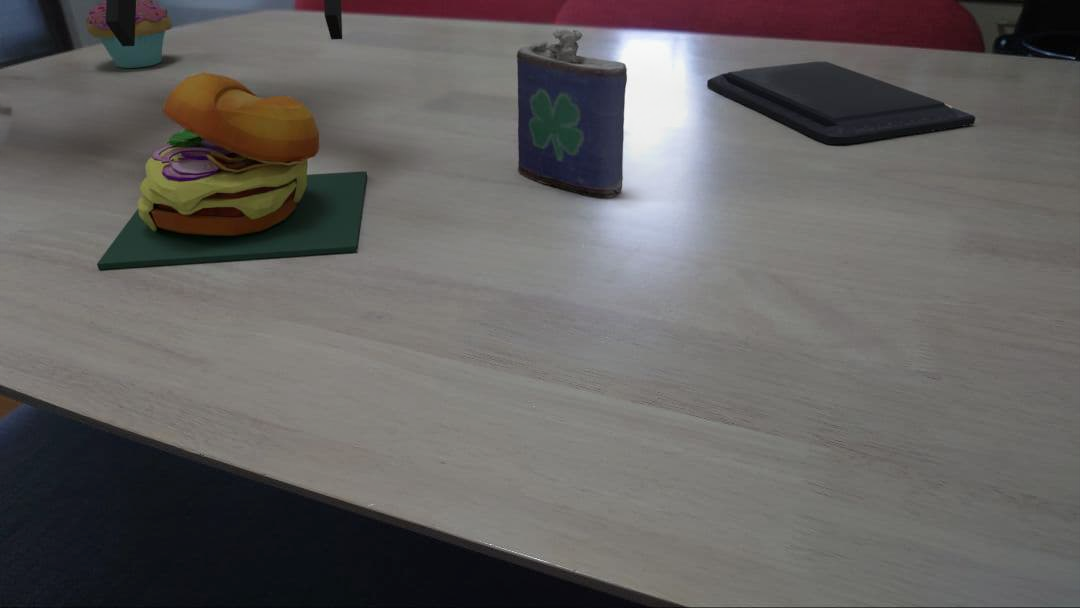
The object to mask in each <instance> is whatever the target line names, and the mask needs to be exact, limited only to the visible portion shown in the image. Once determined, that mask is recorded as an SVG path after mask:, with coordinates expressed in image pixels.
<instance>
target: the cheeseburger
mask: <svg viewBox="0 0 1080 608" xmlns="http://www.w3.org/2000/svg"><path fill="white" fill-rule="evenodd" d="M162 113H163V114H164V115H165V116H166V117H167V118H168V119H169V120H170V121H172V122H174V123H175V124H177V125H179V126H180V127H182V128H183V130H182V131H178V132H177V133H174V134H172V135H171V136H169V137H168V139H169V140H168V141H167V142H166V145H165V146H164V145H163V146H162V147H159V148H158V149H156V150H154V151H153V152H152V154H151V155H150V157H149V159H147V162H146V163H145V166H144V169H145V174H146V177H145V178H143V180H142V181H141V183H140V186H139V191H140V194H141V197H140V198H139V199H138V201H137V209H138V211H139V216H140V217H141V218H142V220H143V221H144V222H145V223H146V224H147V225H148V226H149V227H150V228H151V229H152V230H153V231H155V232H156V230H157V227H156V226H158V227H159V228H162V229H165V230H170V231H174V232H179V233H185V234H198V235H216V236H237V235H243V234H249V233H254V232H260V231H262V230H265V229H267V228H269V227H271V226H273V225H275V224H277V223H279V222H281V221H283V220H285V219H286V218H287V217H288V216H289V215H290V214H291V213H292V212H293V210H294V209H295V208H296V203H298V202H299V201H300V200H301V198H302V196H303V193H304V191H305V189H306V186H307V175H308V166H309V165H308V163H309V162H308V161H309V159H311V158H314V157H316V155H317V154H318V153H319V150H320V132H319V128H318V127H317V124H316V121H315V118H314V115H313V114H312V113H311V111H310V110H309V109H308V108H307V107H306V106H305V105H304V104H303V103H302V102H301V101H299V100H297V99H296V98H294V97H290V96H288V95H276V96H269V97H264V98H263V97H260V96H258V95H257V94H256V93H253V92H252V91H251V90H250V89H249V88H248V87H247V86H245V85H244V84H243V83H242V82H240V81H238V80H236V79H235V78H231V77H228V76H226V75H220V74H216V73H211V72H200V73H197V74H193V75H190V76H186V78H184V79H183V80H182V81H181V82H180V83H178V85H177V86H175V87H174V88H173V89H172V90H171V92H170V94H169V95H168V97H167V99H165V101H164V104H163V108H162Z"/></svg>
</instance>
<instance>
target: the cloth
mask: <svg viewBox="0 0 1080 608" xmlns="http://www.w3.org/2000/svg"><path fill="white" fill-rule="evenodd" d="M367 179H368V171H366V170H364V171H363V170H362V171H346V172H329V173H328V172H327V173H312V174H311V173H310V174H307V186H306V189H305V191H304V193H303V196H302V198H301V200H300V201H299V202H298V203H296V208H295V209H294V210H293V212H292V213H291V214H290V215H289V216H288V217H287V218H286V219H285V220H283V221H281V222H279V223H277V224H275V225H273V226H271V227H269V228H267V229H265V230H262V231H260V232H254V233H249V234H243V235H237V236H216V235H198V234H185V233H179V232H174V231H170V230H165V229H162V228H159V227H158V226H156V227H157V230H156V232H155V231H153V230H152V229H151V228H150V227H149V226H148V225H147V224H146V223H145V222H144V221H143V220H142V218H141V217H140V216H139V211H138V208H137V209H136V211H134V213H133V214H132V216H131V217H130V219H129V220H128V221H127V223H126V224H125V225H124V226H123V228H122V229H121V231H120V232H119V233H118V235H117V236H116V237H115V239H114V240H113V241H112V243H110V246H109V247H108V248H107V250H106V251H105V252H104V253H103V255H102V256H101V258H100V259H99V260H98V262H97V263H96V266H97V268H98V270H110V269H111V270H112V269H125V268H141V267H142V268H143V267H156V266H170V265H185V264H186V265H187V264H199V263H200V264H201V263H213V262H214V263H215V262H229V261H230V262H231V261H242V260H243V261H245V260H258V259H271V258H272V259H274V258H284V257H285V258H286V257H287V258H288V257H302V256H303V257H304V256H316V255H317V256H318V255H331V254H345V253H346V254H347V253H357V252H358V245H359V236H360V232H361V224H362V217H363V209H364V202H365V193H366V187H367Z"/></svg>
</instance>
